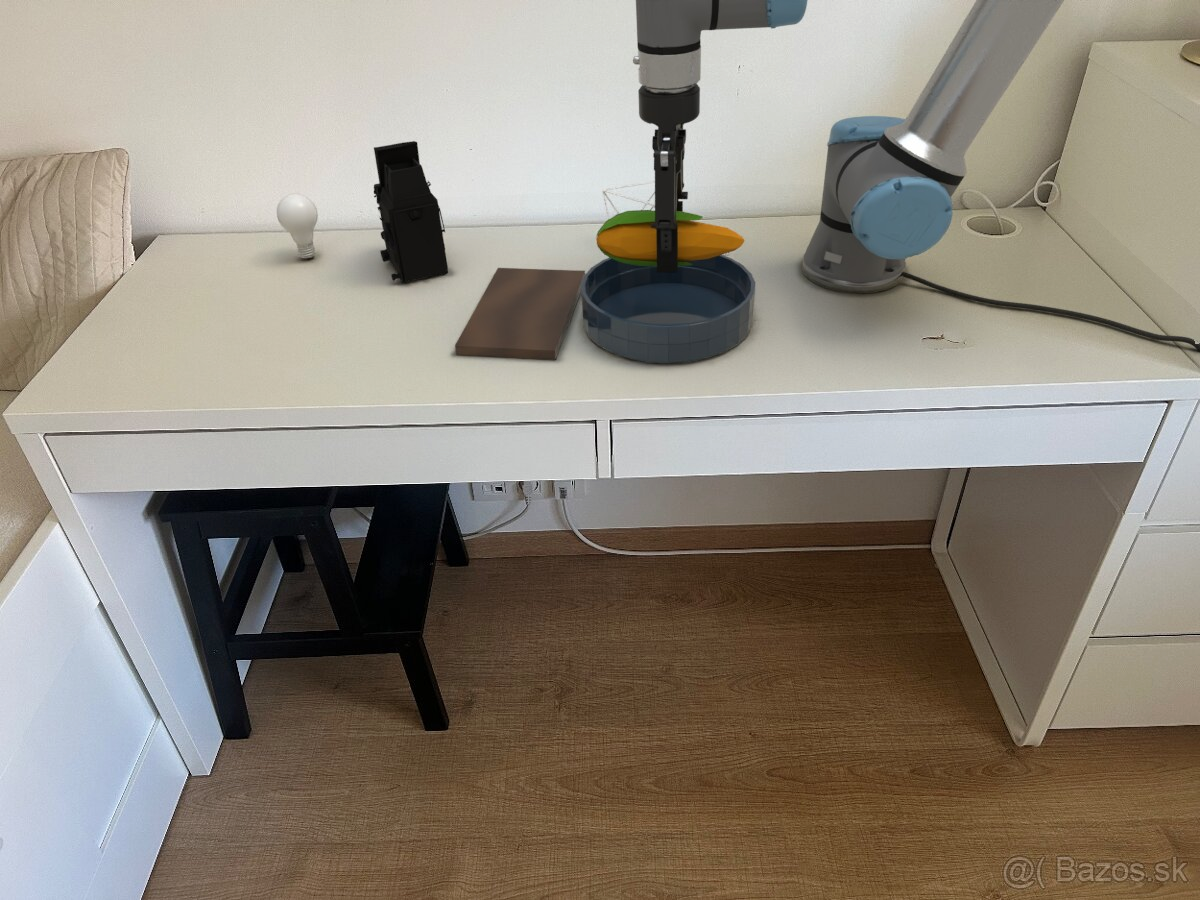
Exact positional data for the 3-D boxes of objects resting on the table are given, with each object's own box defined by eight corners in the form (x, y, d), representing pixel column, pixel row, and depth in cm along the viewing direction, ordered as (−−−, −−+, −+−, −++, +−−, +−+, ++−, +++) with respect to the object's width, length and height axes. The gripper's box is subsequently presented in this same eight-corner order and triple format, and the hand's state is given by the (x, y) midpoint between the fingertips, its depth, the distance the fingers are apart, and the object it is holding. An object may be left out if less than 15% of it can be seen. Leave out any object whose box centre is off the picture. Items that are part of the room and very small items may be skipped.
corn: (598, 198, 123) (746, 198, 120) (602, 247, 128) (744, 249, 125) (590, 223, 117) (745, 225, 114) (595, 274, 122) (743, 277, 119)
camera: (431, 243, 154) (412, 123, 141) (456, 273, 144) (437, 148, 131) (374, 255, 150) (349, 135, 138) (395, 288, 140) (371, 161, 128)
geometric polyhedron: (598, 234, 154) (596, 182, 148) (657, 223, 156) (657, 172, 151) (622, 264, 144) (620, 210, 139) (685, 252, 147) (686, 199, 141)
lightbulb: (335, 254, 151) (321, 191, 145) (307, 269, 147) (291, 205, 140) (309, 247, 154) (293, 184, 147) (281, 261, 150) (263, 198, 143)
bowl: (754, 285, 137) (756, 248, 133) (750, 370, 118) (753, 330, 114) (597, 279, 140) (596, 243, 136) (569, 361, 121) (566, 322, 118)
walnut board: (585, 279, 140) (585, 270, 139) (555, 359, 122) (554, 350, 121) (498, 276, 142) (497, 267, 142) (456, 354, 124) (454, 345, 123)
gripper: (647, 63, 117) (651, 228, 131) (627, 110, 102) (633, 292, 116) (705, 62, 116) (702, 228, 130) (693, 109, 101) (691, 293, 115)
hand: (670, 258), depth 123 cm, fingers closed on corn, 7 cm apart
